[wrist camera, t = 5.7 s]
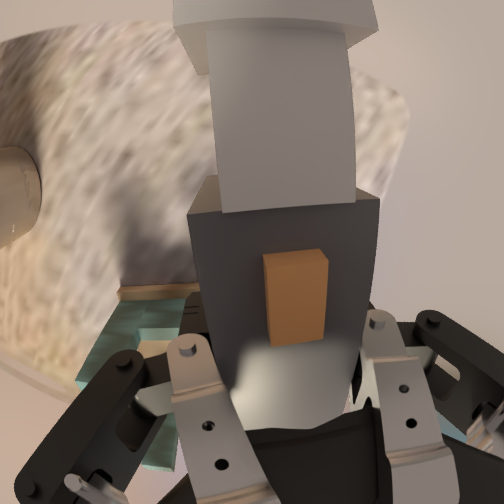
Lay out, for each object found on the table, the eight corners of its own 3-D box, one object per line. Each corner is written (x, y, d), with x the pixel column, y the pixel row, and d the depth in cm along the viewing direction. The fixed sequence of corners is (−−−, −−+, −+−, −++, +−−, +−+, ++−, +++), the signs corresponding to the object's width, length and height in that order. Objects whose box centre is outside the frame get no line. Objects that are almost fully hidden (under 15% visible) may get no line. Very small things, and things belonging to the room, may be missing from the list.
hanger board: (162, 396, 29) (148, 471, 19) (120, 286, 23) (67, 370, 13) (243, 396, 30) (246, 476, 19) (226, 280, 23) (221, 379, 13)
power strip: (243, 407, 16) (250, 490, 10) (197, 69, 8) (161, -6, 3) (303, 399, 16) (324, 478, 10) (302, 64, 9) (380, 0, 3)
